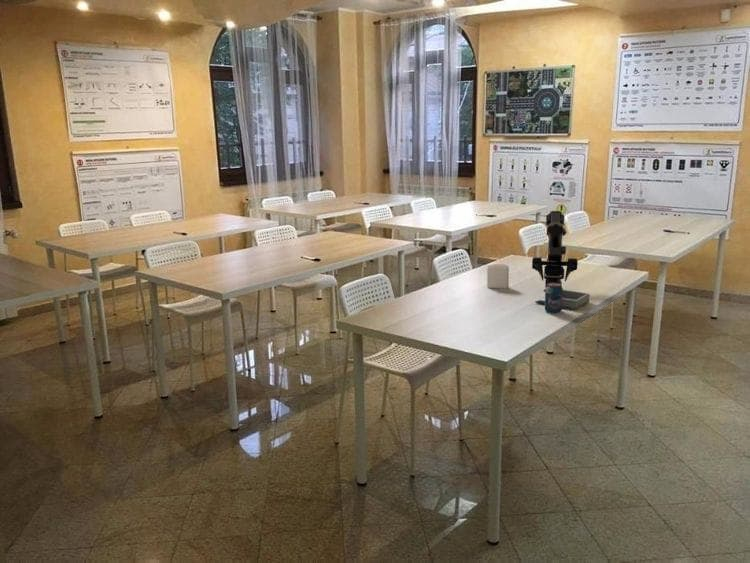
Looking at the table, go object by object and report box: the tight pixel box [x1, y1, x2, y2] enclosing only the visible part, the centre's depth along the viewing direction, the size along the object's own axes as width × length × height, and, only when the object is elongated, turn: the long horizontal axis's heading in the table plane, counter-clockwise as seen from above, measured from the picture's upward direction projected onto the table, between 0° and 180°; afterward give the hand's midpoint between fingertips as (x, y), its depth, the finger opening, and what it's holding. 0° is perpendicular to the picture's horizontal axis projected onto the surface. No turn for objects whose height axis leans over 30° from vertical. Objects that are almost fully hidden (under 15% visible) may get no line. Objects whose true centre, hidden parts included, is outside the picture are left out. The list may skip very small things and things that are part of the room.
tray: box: [562, 289, 590, 311], centre depth 276 cm, size 14×14×4 cm
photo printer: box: [486, 262, 510, 290], centre depth 304 cm, size 10×4×12 cm, turn 70°
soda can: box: [544, 282, 564, 315], centre depth 265 cm, size 7×7×12 cm
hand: (554, 280), depth 268 cm, fingers open, 9 cm apart
